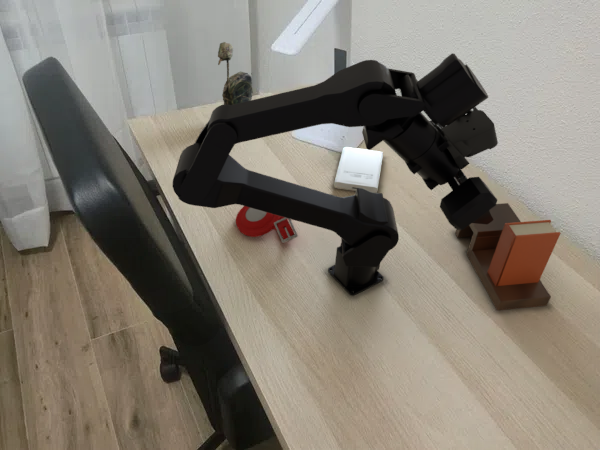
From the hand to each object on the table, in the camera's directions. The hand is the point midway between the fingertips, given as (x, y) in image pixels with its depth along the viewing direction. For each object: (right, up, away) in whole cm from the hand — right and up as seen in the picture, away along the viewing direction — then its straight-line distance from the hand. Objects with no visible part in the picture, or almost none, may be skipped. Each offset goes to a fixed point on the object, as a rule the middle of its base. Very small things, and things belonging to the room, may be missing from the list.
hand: (476, 201), depth 80 cm
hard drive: (-14, +7, +28) cm, 32 cm away
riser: (+6, -10, +9) cm, 15 cm away
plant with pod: (-40, +18, +40) cm, 60 cm away
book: (+7, -11, +5) cm, 14 cm away
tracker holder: (-31, -4, +15) cm, 35 cm away
